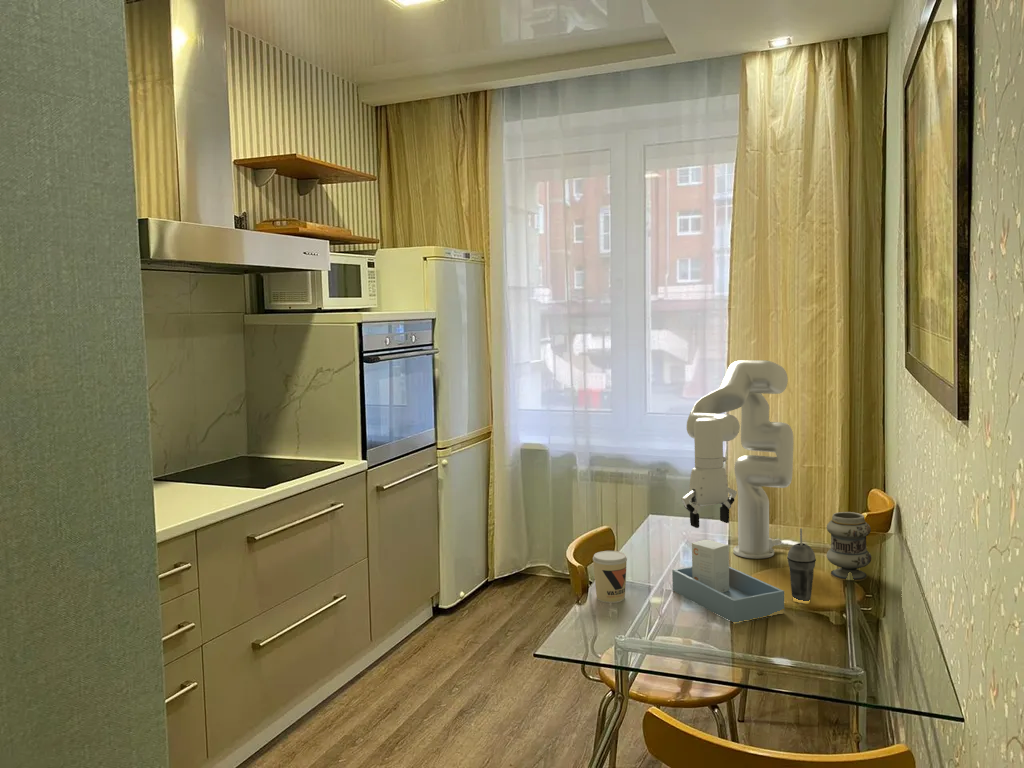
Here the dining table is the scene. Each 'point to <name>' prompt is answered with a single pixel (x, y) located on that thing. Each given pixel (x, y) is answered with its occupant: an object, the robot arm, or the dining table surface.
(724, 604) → the tray
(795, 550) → the beverage cup
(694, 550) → the small box
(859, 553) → the apothecary jar
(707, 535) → the dining table surface
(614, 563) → the cream lidded tub
